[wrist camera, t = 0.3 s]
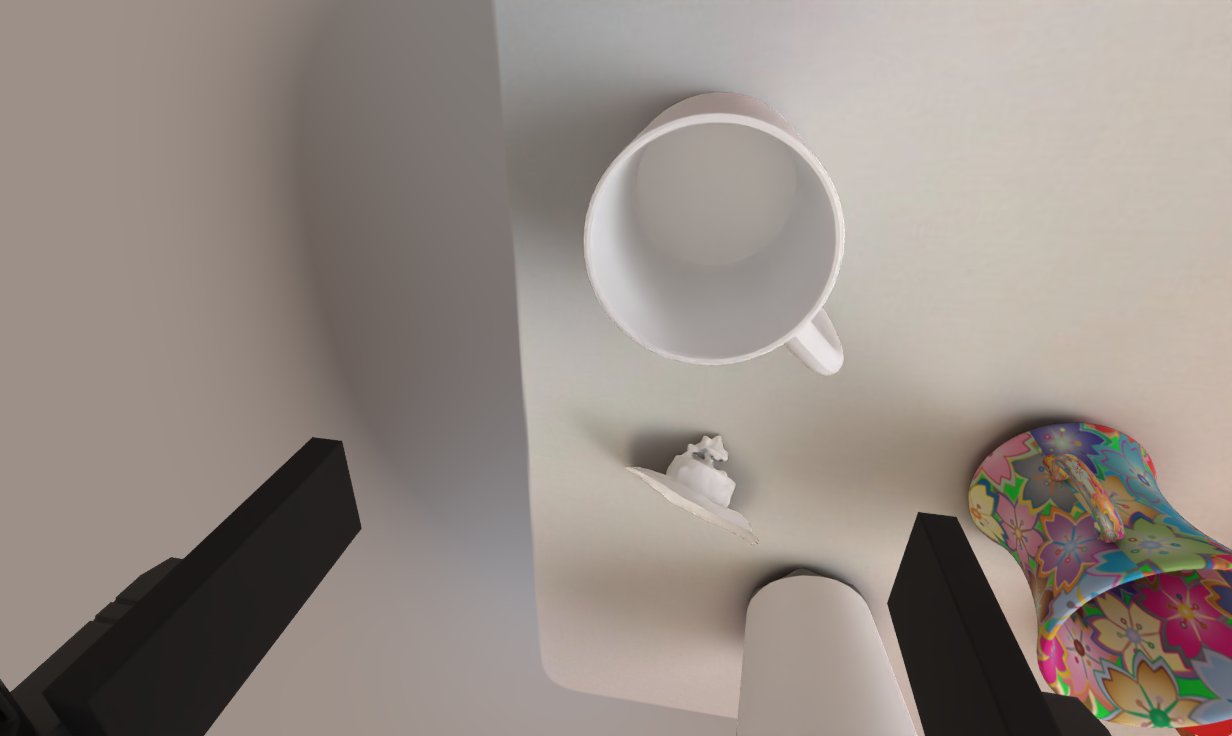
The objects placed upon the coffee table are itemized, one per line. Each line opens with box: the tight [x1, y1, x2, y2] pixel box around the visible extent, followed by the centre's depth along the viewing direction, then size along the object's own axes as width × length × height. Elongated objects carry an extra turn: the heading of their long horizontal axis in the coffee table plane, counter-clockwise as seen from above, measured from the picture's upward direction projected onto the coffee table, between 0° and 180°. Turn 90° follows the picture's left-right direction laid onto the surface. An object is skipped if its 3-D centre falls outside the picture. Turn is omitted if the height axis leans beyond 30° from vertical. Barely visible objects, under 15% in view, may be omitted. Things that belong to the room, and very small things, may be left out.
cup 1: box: [583, 92, 845, 375], centre depth 24 cm, size 8×12×10 cm
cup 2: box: [736, 568, 917, 736], centre depth 34 cm, size 10×10×13 cm
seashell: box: [624, 436, 759, 545], centre depth 33 cm, size 8×5×8 cm
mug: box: [968, 423, 1232, 728], centre depth 27 cm, size 12×9×11 cm
